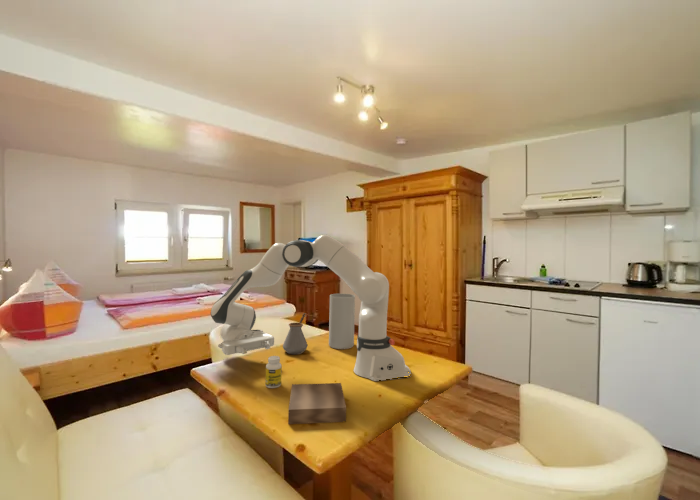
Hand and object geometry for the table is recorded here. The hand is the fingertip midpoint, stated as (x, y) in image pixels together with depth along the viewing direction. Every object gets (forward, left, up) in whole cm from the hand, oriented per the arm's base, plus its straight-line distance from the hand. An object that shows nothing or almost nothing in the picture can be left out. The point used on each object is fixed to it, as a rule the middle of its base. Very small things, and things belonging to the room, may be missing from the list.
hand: (257, 349), depth 120 cm
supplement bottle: (-7, +10, -10) cm, 16 cm away
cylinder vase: (-35, -33, -10) cm, 49 cm away
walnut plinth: (-22, +27, -9) cm, 36 cm away
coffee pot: (-14, -30, -10) cm, 35 cm away
